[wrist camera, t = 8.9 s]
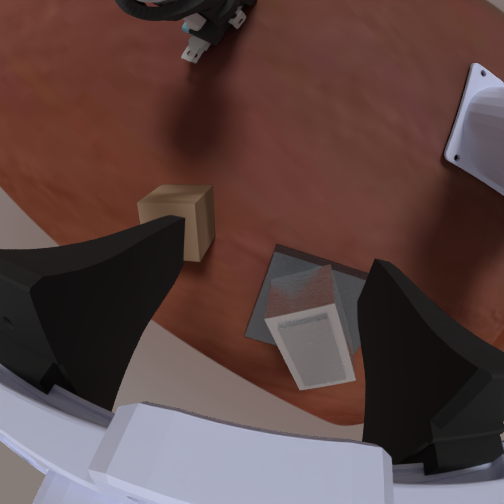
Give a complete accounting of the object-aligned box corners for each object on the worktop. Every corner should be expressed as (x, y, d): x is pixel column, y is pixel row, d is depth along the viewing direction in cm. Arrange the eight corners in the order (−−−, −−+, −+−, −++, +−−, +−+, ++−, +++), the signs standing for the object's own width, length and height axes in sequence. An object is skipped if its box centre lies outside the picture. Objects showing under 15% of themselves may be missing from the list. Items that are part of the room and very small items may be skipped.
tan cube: (213, 184, 21) (194, 204, 17) (215, 235, 23) (199, 261, 19) (162, 184, 21) (137, 202, 18) (168, 232, 23) (146, 256, 20)
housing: (351, 339, 24) (356, 383, 20) (302, 350, 26) (299, 393, 21) (330, 264, 21) (335, 306, 17) (272, 279, 22) (263, 322, 18)
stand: (393, 281, 22) (396, 290, 21) (346, 354, 27) (347, 363, 26) (276, 243, 22) (274, 251, 21) (246, 327, 27) (244, 336, 26)
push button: (225, 78, 17) (155, 63, 8) (162, 47, 16) (65, 27, 8) (280, 2, 14) (258, -73, 5) (213, -27, 13) (147, -93, 4)
